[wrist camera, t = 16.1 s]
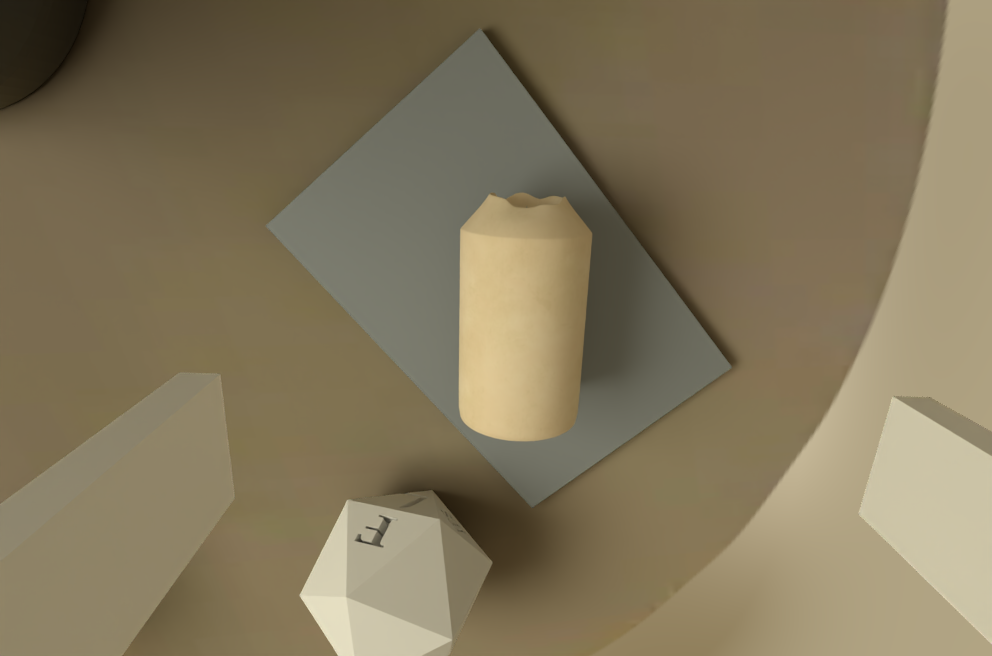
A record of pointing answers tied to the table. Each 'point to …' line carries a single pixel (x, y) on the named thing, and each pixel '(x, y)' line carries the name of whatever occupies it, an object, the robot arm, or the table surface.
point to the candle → (522, 316)
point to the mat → (436, 261)
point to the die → (395, 577)
